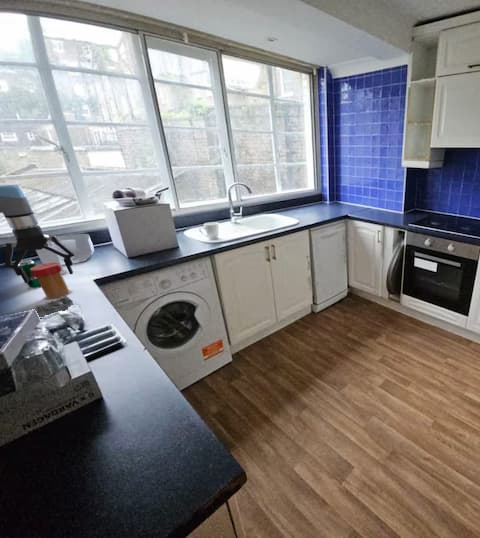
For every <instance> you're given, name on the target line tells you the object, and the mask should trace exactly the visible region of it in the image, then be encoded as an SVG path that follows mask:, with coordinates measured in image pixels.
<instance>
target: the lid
mask: <svg viewBox="0 0 480 538" xmlns="http://www.w3.org/2000/svg"><path fill="white" fill-rule="evenodd" d="M30 270H31V273H32V275H33V276H34V277H45V276H49V275H53V274H56V273H59V272H60V271H61V270H62V269H61V267H60V265H59V263H46V264H42V263H41V264H39V265H36V266H35V267H32V268H31V269H30Z"/></svg>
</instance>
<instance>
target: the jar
mask: <svg viewBox="0 0 480 538" xmlns="http://www.w3.org/2000/svg"><path fill="white" fill-rule="evenodd" d="M37 279H38V281H39V283H40V285H41V286H40V287H41V289H42V291H43V293H44V295H45V297H46V299H48V300H54V299H55V300H56V299H60V298H62V297H64V296H68V295H69V294H70V293H71V292H70V290H69V288H68V286H67V283H66V281H65V279H64V277H63V274H62V275H61V272H59V273H56V274H53V275H49V276H45V277H37Z"/></svg>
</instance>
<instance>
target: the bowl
mask: <svg viewBox="0 0 480 538" xmlns="http://www.w3.org/2000/svg"><path fill="white" fill-rule="evenodd" d="M56 237H57V238H58V240H59V241H60V242H62V243H63V244H64V245H65V246H67V247H68V248H69V249H70V250H71V251H73V252H74V253H75V255H74V256H72V257H71V260H72V263H73V264H76V263H81V262H84V261H86V260H88V259H90V258H92V256H93V255H94V253H95V248H94V244H93V242H92V239H91V237H90V234H88V233H76V234H67V235H61V236H56ZM52 245H53V247H54V248H56V249H58V250H60V251H62V252H64V253H66V252H65V251H64V250H63V249H61V248H60V247H59V246H57V245H56V244H55V243H54V242H52ZM66 254H68V253H66ZM57 256H58V258H59V260H60V262H61V264H62V266H66V264H65V262H64V258H63V257H61V256H59V255H57Z"/></svg>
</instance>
